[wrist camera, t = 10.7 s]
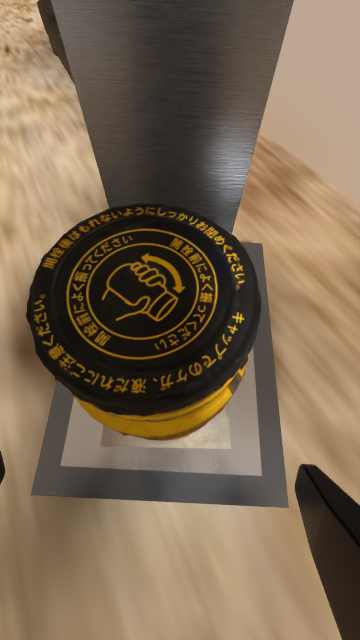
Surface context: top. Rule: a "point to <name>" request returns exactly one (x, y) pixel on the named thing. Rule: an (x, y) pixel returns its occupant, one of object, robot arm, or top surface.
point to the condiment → (148, 323)
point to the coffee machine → (175, 190)
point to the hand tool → (53, 31)
